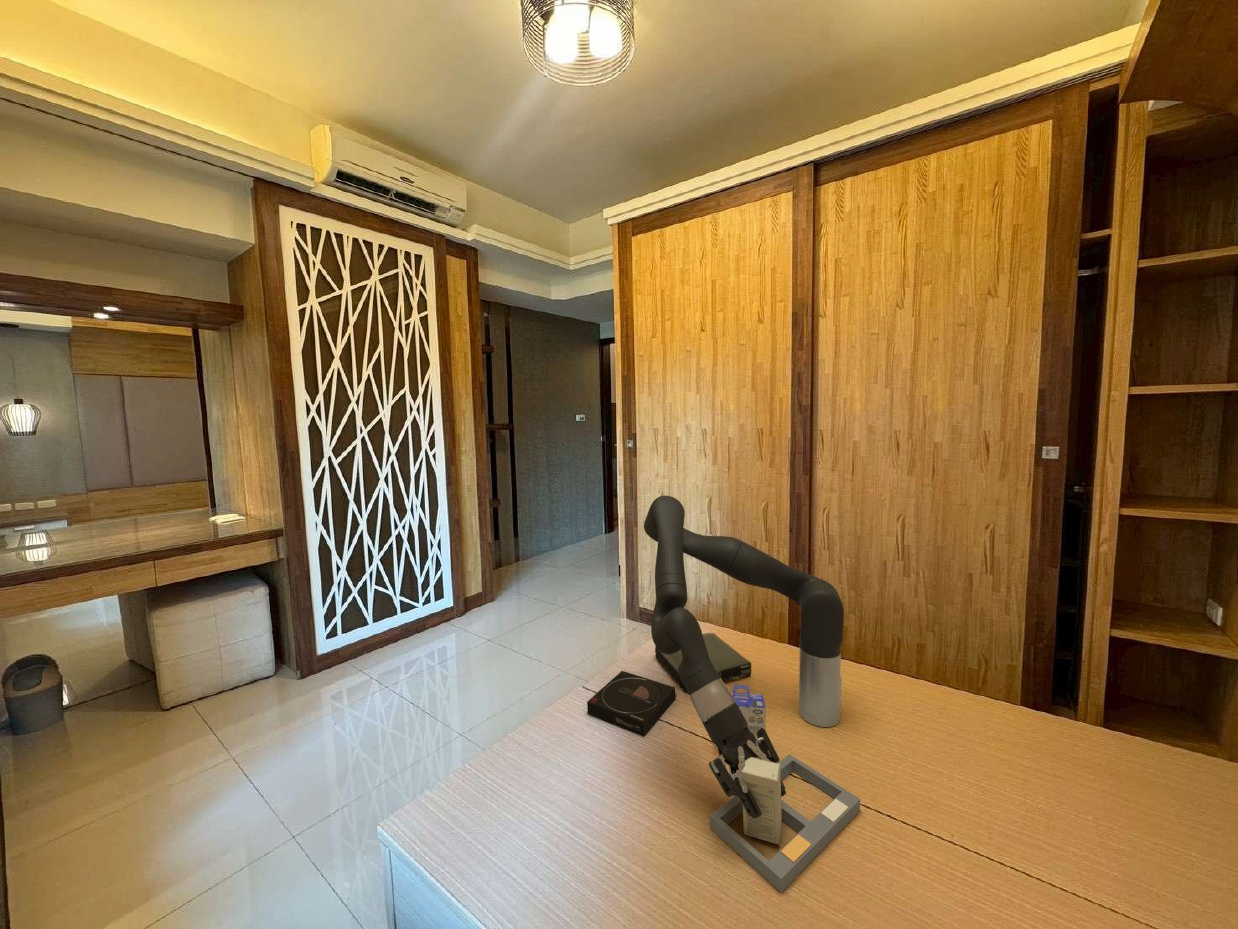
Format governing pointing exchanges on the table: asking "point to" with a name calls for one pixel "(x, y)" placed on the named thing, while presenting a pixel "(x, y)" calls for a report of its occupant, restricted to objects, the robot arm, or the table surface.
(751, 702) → the ink cartridge box
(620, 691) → the portable cd player
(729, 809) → the grey divided frame
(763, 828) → the skincare box
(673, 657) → the network switch
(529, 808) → the table surface
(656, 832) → the table surface
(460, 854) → the table surface
